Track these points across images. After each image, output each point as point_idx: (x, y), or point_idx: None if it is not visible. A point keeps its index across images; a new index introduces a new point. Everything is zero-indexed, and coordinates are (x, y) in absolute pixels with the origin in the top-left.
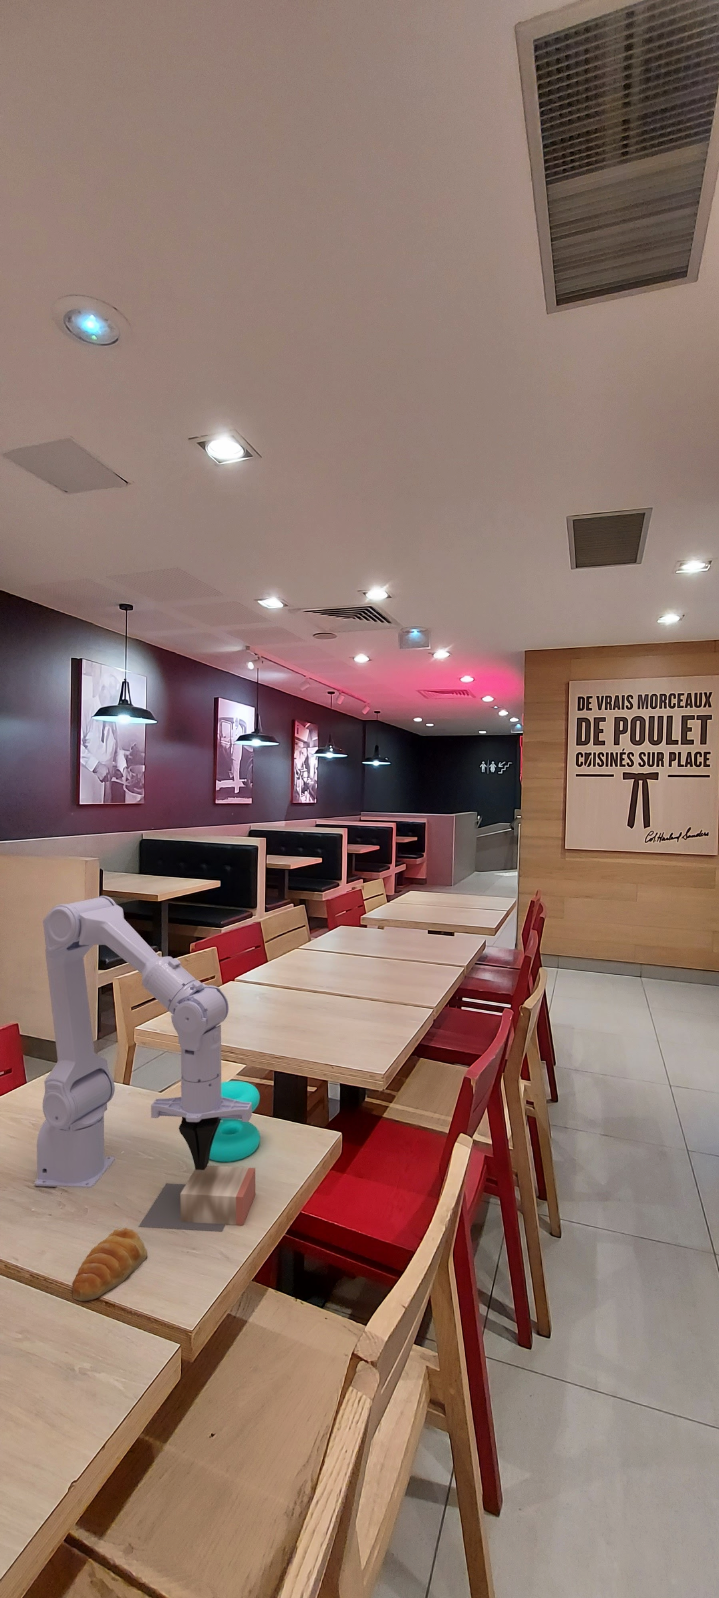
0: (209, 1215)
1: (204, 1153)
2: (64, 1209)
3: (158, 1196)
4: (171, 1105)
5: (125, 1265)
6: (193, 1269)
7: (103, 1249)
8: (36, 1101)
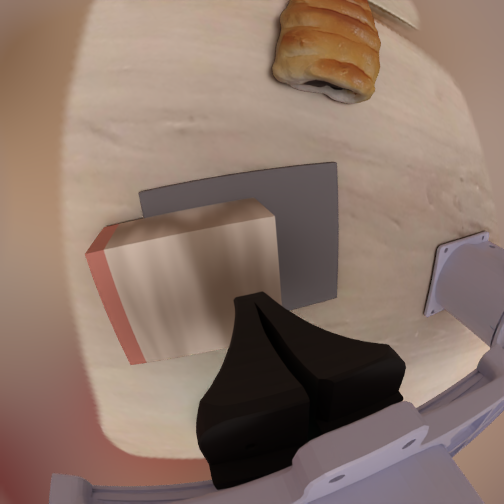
0: (183, 216)
1: (239, 328)
2: (452, 194)
3: (336, 259)
4: (471, 424)
5: (293, 9)
6: (153, 74)
7: (359, 26)
8: (488, 350)
